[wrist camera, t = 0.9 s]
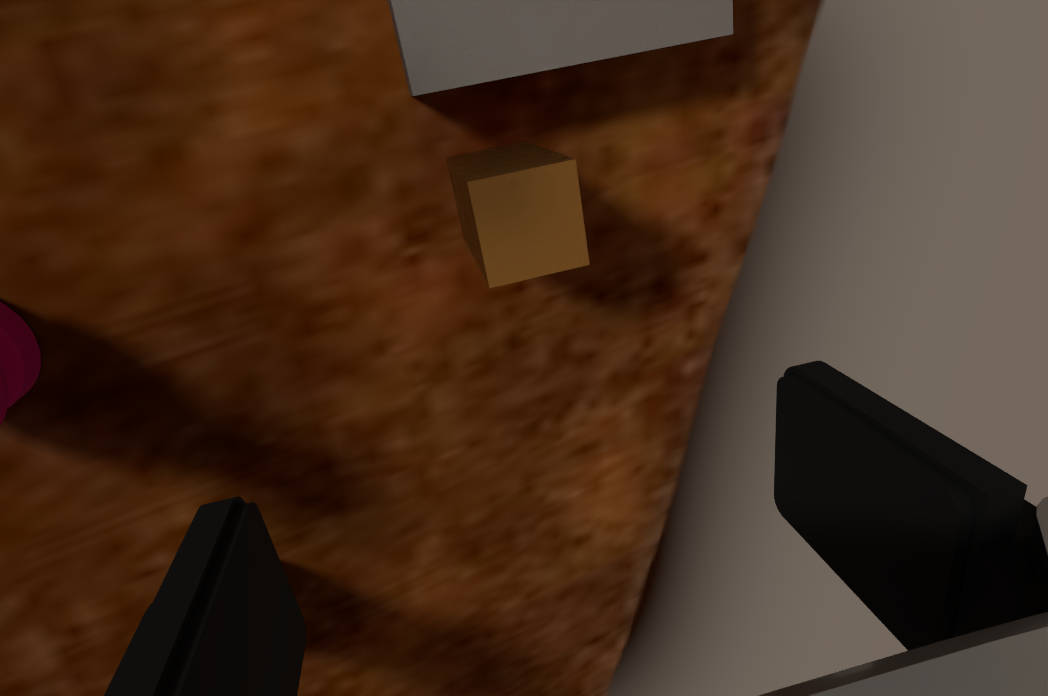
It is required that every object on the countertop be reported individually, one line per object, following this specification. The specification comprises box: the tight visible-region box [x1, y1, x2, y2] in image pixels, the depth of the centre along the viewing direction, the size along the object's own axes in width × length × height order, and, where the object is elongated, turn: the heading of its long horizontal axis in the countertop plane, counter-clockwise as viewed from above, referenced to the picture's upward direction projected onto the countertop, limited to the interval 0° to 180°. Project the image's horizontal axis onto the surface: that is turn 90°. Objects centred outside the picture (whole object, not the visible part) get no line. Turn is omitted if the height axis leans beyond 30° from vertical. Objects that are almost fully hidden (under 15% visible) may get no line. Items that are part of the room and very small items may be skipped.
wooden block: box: [446, 141, 590, 288], centre depth 26 cm, size 4×4×9 cm
